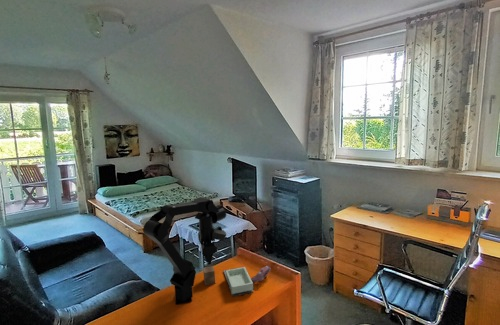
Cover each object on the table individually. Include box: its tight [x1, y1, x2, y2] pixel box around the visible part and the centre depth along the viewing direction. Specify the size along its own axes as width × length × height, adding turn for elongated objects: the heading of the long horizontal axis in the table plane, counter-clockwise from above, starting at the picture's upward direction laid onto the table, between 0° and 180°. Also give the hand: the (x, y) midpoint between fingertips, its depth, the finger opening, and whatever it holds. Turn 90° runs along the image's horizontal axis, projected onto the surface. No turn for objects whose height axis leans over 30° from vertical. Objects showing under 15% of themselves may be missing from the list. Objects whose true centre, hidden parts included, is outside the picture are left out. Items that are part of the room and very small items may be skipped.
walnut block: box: [202, 265, 216, 286], centre depth 132 cm, size 4×4×6 cm
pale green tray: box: [225, 266, 254, 295], centre depth 128 cm, size 9×14×4 cm, turn 15°
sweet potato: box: [250, 265, 272, 284], centre depth 133 cm, size 10×5×7 cm, turn 145°
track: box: [223, 266, 254, 298], centre depth 132 cm, size 9×20×1 cm, turn 15°
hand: (208, 259), depth 131 cm, fingers open, 9 cm apart
